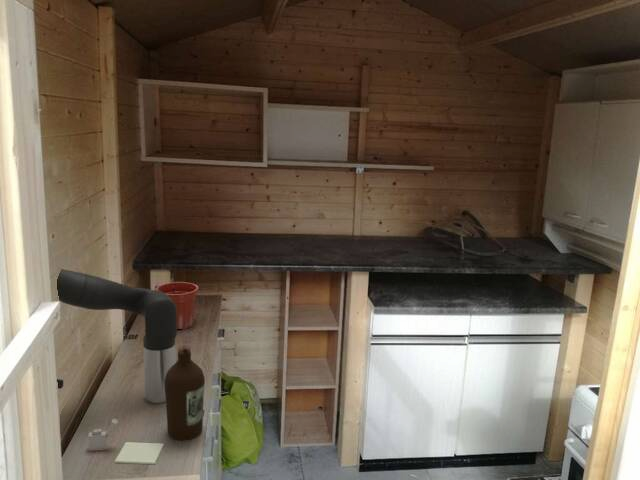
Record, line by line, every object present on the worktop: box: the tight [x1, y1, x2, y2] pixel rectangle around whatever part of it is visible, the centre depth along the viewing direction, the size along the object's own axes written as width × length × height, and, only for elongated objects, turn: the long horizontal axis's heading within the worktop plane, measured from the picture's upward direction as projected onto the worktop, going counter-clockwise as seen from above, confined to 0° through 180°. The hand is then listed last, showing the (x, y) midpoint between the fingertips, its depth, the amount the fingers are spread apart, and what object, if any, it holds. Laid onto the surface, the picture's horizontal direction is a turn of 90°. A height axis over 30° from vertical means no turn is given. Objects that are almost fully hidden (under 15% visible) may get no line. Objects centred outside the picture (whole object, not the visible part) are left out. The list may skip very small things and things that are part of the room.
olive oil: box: [164, 344, 206, 441], centre depth 147 cm, size 11×11×25 cm
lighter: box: [87, 418, 119, 452], centre depth 140 cm, size 7×2×8 cm, turn 102°
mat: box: [114, 441, 165, 465], centre depth 139 cm, size 8×10×1 cm
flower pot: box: [155, 281, 199, 330], centre depth 220 cm, size 16×16×16 cm
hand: (56, 391), depth 136 cm, fingers open, 8 cm apart
